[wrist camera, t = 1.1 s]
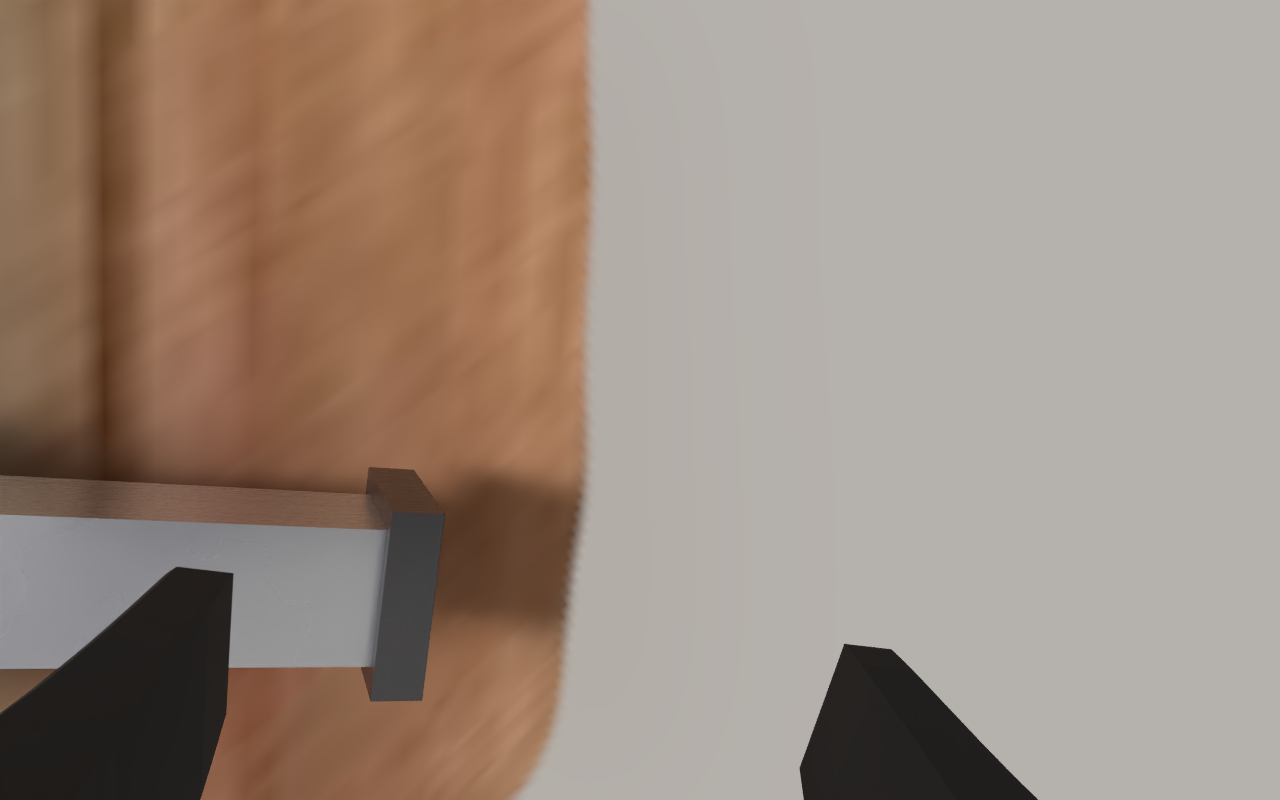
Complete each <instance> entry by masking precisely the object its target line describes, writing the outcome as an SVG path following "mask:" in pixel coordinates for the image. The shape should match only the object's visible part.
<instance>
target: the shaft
mask: <svg viewBox="0 0 1280 800" xmlns="http://www.w3.org/2000/svg"><path fill="white" fill-rule="evenodd" d="M444 516H445V514H444V513H443V511H442V510H441V508H440V507H439V506H438V504H437V503H436V501H435V500H434V498H433V497H432V495H431V494H430V493H429V491H428V490H427V488H426V487H425V485H424V484H423V482H422V481H421V480H420V478H419V477H418V475H417V474H416V472H415V471H414V470H406V469H390V468H374V467H369V470H368V479H367V488H366V494H349V493H330V492H311V491H292V490H272V489H253V488H234V487H215V486H196V485H177V484H158V483H139V482H120V481H101V480H82V479H62V478H43V477H24V476H5V475H0V669H58V668H59V667H60V666H61V665H63V664H64V663H65V662H66V661H67V660H69V659H70V658H71V657H72V656H73V655H75V654H76V653H77V652H78V651H79V650H81V649H82V648H83V647H84V646H86V645H87V644H88V643H89V642H90V641H92V640H93V639H94V638H95V637H96V636H97V635H98V634H100V633H101V632H102V631H103V630H104V629H105V628H106V627H108V626H109V625H110V624H111V623H112V622H113V621H114V620H116V619H117V618H118V617H119V616H120V615H121V614H122V613H123V612H124V611H126V610H127V609H128V608H129V607H130V606H131V605H132V604H133V603H134V602H136V601H137V600H138V599H139V598H140V597H141V596H142V595H143V594H144V593H145V592H146V591H148V590H149V589H150V588H151V587H152V586H153V585H154V584H155V583H156V582H157V581H158V580H159V579H161V578H162V577H163V576H164V575H165V574H166V573H168V572H169V571H171V570H172V569H174V568H175V567H185V568H193V569H202V570H211V571H219V572H228V573H234V574H233V593H232V612H231V631H230V650H229V668H248V667H361V669H362V673H363V676H364V680H365V683H366V687H367V690H368V694H369V697H370V701H422V697H423V689H424V680H425V672H426V664H427V656H428V648H429V639H430V631H431V623H432V615H433V607H434V598H435V590H436V582H437V574H438V565H439V557H440V549H441V541H442V533H443V524H444Z"/></svg>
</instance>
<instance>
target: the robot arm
mask: <svg viewBox="0 0 1280 800" xmlns="http://www.w3.org/2000/svg"><path fill="white" fill-rule="evenodd" d="M233 574H234V573H228V572H219V571H211V570H202V569H193V568H185V567H175V568H174V569H172V570H171V571H169V572H168V573H166V574H165V575H164V576H163V577H162V578H161V579H159V580H158V581H157V582H156V583H155V584H154V585H153V586H152V587H151V588H150V589H149V590H148V591H146V592H145V593H144V594H143V595H142V596H141V597H140V598H139V599H138V600H137V601H136V602H134V603H133V604H132V605H131V606H130V607H129V608H128V609H127V610H126V611H124V612H123V613H122V614H121V615H120V616H119V617H118V618H117V619H116V620H114V621H113V622H112V623H111V624H110V625H109V626H108V627H106V628H105V629H104V630H103V631H102V632H101V633H100V634H98V635H97V636H96V637H95V638H94V639H93V640H92V641H90V642H89V643H88V644H87V645H86V646H84V647H83V648H82V649H81V650H79V651H78V652H77V653H76V654H75V655H73V656H72V657H71V658H70V659H69V660H67V661H66V662H65V663H64V664H63V665H61V666H60V667H59V668H58V669H57V670H55V671H54V672H53V673H52V674H50V675H49V676H48V677H47V678H46V679H44V680H43V681H42V682H41V683H39V684H38V685H37V686H36V687H34V688H33V689H32V690H31V691H29V692H28V693H27V694H25V695H24V696H23V697H21V698H20V699H19V700H17V701H16V702H15V703H13V704H12V705H11V706H9V707H8V708H7V709H5V710H4V711H3V712H1V713H0V800H200V799H201V796H202V793H203V789H204V786H205V783H206V780H207V776H208V773H209V770H210V767H211V763H212V760H213V757H214V753H215V750H216V747H217V743H218V740H219V736H220V733H221V729H222V726H223V723H224V719H225V716H226V707H227V688H228V669H229V650H230V631H231V612H232V593H233ZM800 774H801V782H802V789H803V796H804V800H1038V799H1037V798H1036V797H1035V796H1034V795H1033V794H1032V793H1031V792H1030V791H1029V790H1028V789H1026V787H1024V786H1023V785H1022V784H1021V783H1020V782H1019V781H1018V780H1017V779H1016V778H1015V777H1014V776H1013V775H1012V774H1011V773H1010V772H1009V771H1008V770H1007V769H1006V768H1005V767H1004V766H1003V764H1001V763H1000V761H999V760H998V759H997V758H996V757H995V756H994V755H993V754H992V753H991V752H990V751H989V750H988V749H987V748H986V747H985V746H984V745H983V744H982V743H981V742H980V741H979V740H978V739H977V738H976V737H975V736H974V734H973V733H972V732H971V731H970V730H969V729H968V728H967V727H966V726H965V725H964V724H963V723H962V722H961V721H960V720H959V719H958V718H957V716H956V715H955V714H954V713H953V712H952V711H951V710H950V709H949V708H948V707H947V706H946V705H945V704H944V703H943V702H942V701H941V700H940V698H939V697H938V696H937V695H936V694H935V693H934V692H933V691H932V690H931V689H930V688H929V687H928V686H927V685H926V684H925V683H924V682H923V680H922V679H921V678H920V677H919V676H918V675H917V674H916V673H915V672H914V671H913V670H912V669H911V668H910V667H909V666H908V665H907V664H906V663H905V662H904V661H903V660H902V659H901V658H900V657H899V656H898V655H896V653H895V652H894V651H892V650H891V649H883V648H875V647H866V646H857V645H849V644H844V647H843V649H842V652H841V655H840V658H839V661H838V663H837V666H836V669H835V672H834V674H833V677H832V680H831V683H830V685H829V688H828V691H827V694H826V697H825V700H824V702H823V705H822V708H821V710H820V713H819V716H818V719H817V721H816V724H815V727H814V730H813V733H812V735H811V738H810V741H809V744H808V747H807V750H806V752H805V755H804V758H803V760H802V763H801V766H800Z"/></svg>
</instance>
